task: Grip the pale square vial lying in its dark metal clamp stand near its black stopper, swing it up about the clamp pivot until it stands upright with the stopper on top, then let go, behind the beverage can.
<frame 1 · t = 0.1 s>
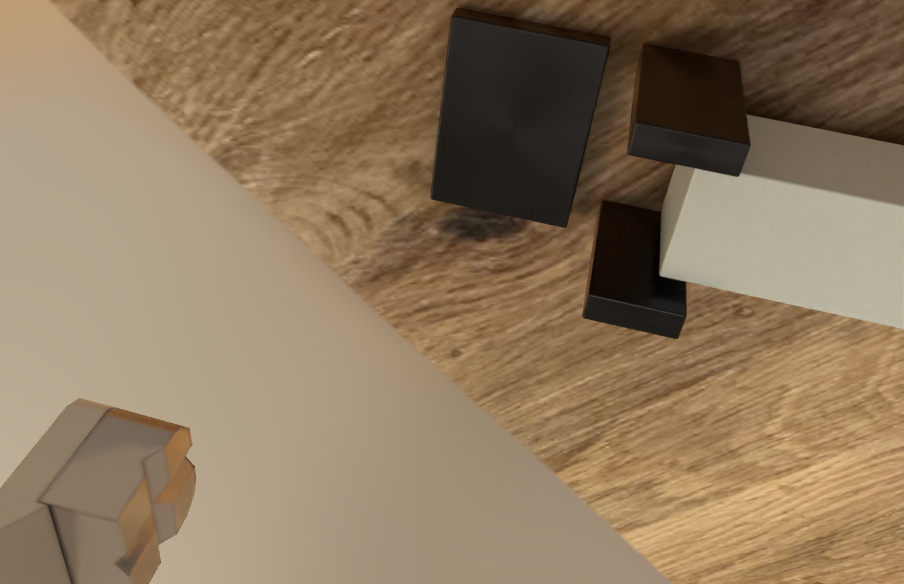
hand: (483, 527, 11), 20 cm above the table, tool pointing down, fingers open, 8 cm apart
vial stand: (662, 148, 28), on the table
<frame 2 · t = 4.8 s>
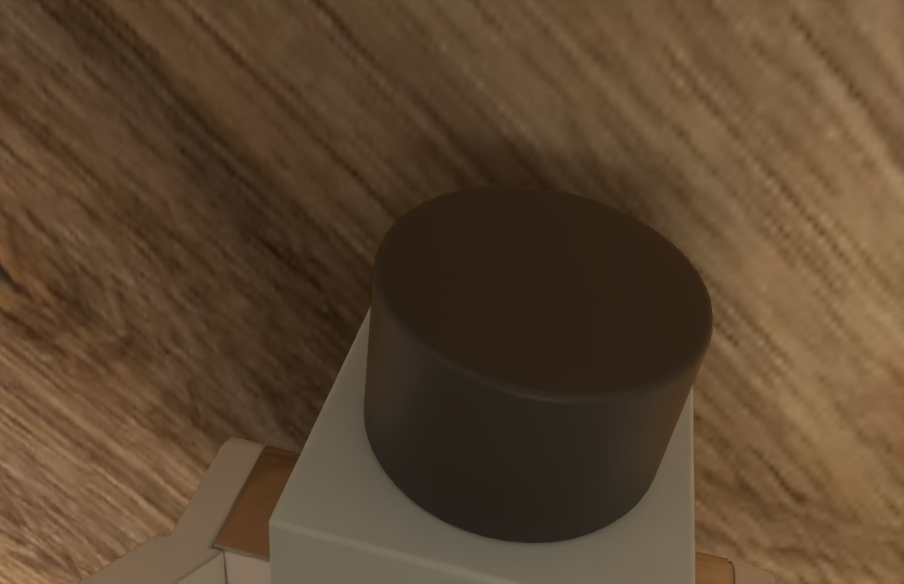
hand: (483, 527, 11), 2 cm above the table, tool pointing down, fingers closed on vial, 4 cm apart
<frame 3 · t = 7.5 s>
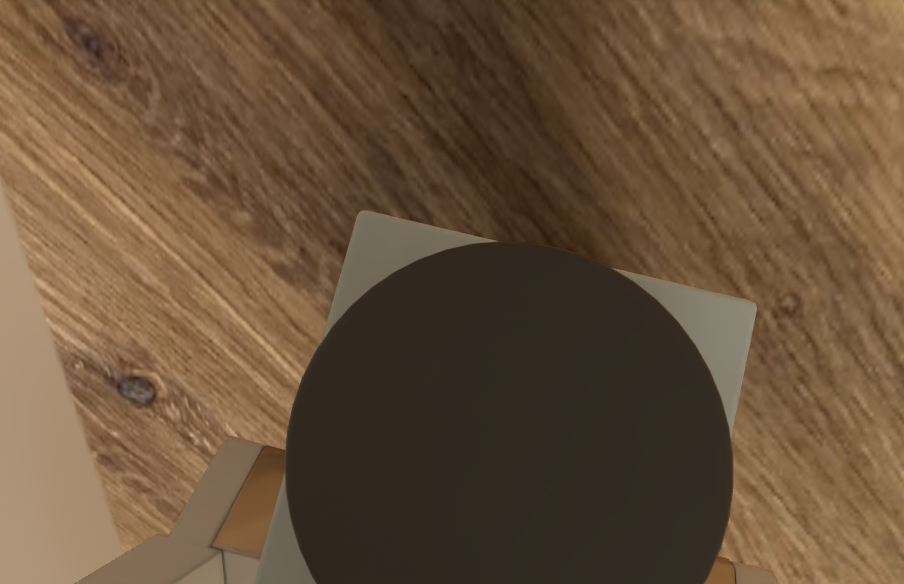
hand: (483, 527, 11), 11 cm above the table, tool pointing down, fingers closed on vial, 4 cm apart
vial: (505, 450, 14), point 8 cm above the table, hinge at 43.4°, touching gripper
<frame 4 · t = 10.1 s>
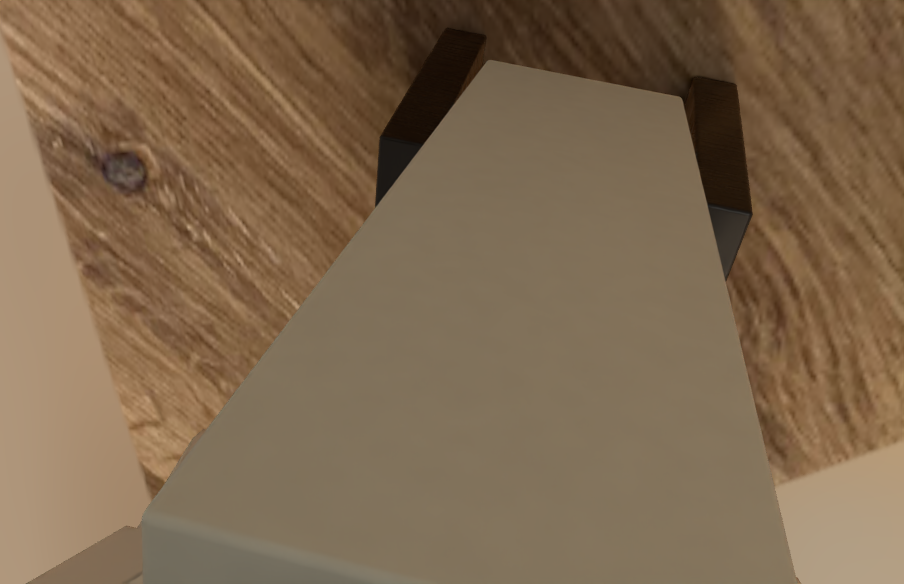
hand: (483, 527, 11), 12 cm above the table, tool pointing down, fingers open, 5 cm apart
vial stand: (575, 113, 20), on the table
vial: (521, 360, 11), point 11 cm above the table, hinge at 78.7°
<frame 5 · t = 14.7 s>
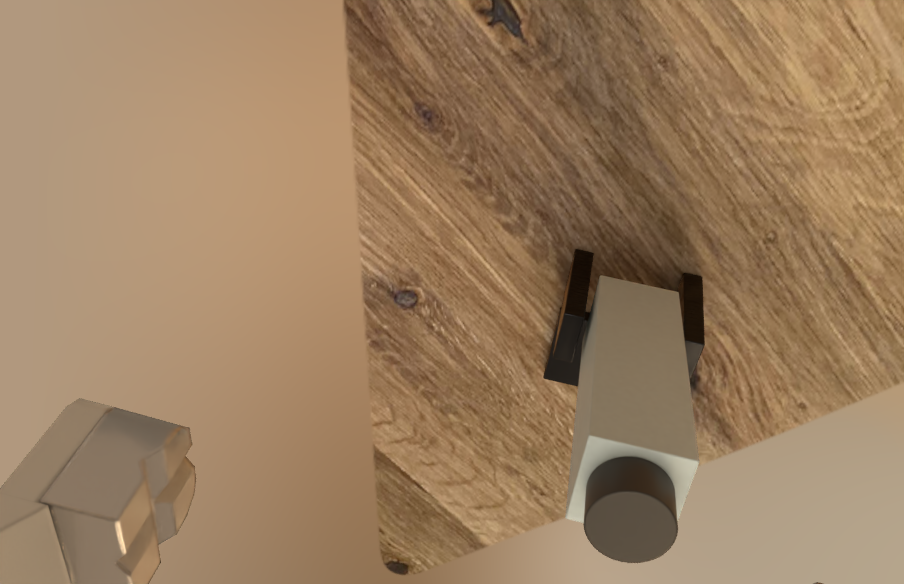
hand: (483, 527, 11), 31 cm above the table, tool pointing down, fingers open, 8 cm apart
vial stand: (631, 284, 46), on the table
vial: (629, 402, 37), point 11 cm above the table, hinge at 78.7°
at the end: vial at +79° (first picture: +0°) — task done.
